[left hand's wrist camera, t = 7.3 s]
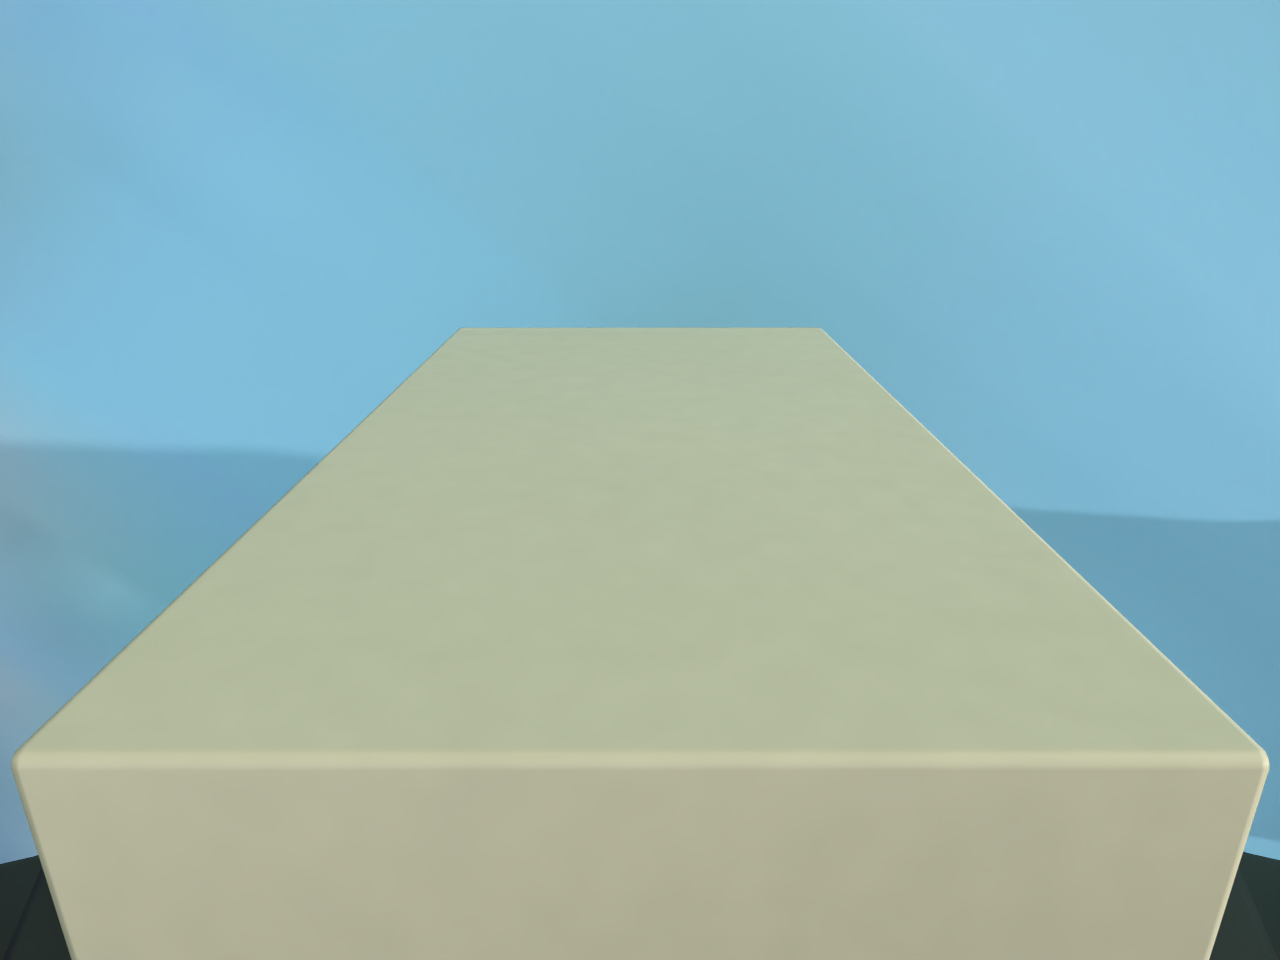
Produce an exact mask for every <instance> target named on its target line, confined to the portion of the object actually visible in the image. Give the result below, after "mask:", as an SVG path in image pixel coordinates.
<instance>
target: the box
mask: <svg viewBox="0 0 1280 960" xmlns="http://www.w3.org/2000/svg"><path fill="white" fill-rule="evenodd" d="M1269 768H1270V767H1269V759H1268V757H1267V755H1266V752H1265V751H1264V750H1263V749H1262V748H1261V747H1260V746H1259V745H1258V744H1257V743H1256V742H1255V741H1254V740H1253V739H1252V738H1251V737H1250V736H1249V735H1248V734H1247V733H1246V732H1244V731H1243V730H1242V729H1241V728H1240V727H1239V726H1238V725H1237V724H1236V723H1235V722H1234V721H1233V720H1232V719H1231V718H1230V717H1229V716H1228V715H1227V714H1226V713H1224V712H1223V711H1222V710H1221V709H1220V708H1219V707H1218V706H1217V705H1216V704H1215V703H1214V702H1213V701H1212V700H1211V699H1210V698H1209V697H1208V696H1207V695H1206V694H1205V693H1203V692H1202V691H1201V690H1200V689H1199V688H1198V687H1197V686H1196V685H1195V684H1194V683H1193V682H1192V681H1191V680H1190V679H1189V678H1188V677H1187V676H1186V675H1185V674H1184V673H1182V672H1181V671H1180V670H1179V669H1178V668H1177V667H1176V666H1175V665H1174V664H1173V663H1172V662H1171V661H1170V660H1169V659H1168V658H1167V657H1166V656H1165V655H1164V654H1162V653H1161V652H1160V651H1159V650H1158V649H1157V648H1156V647H1155V646H1154V645H1153V644H1152V643H1151V642H1150V641H1149V640H1148V639H1147V638H1146V637H1145V636H1144V635H1143V634H1141V633H1140V632H1139V631H1138V630H1137V629H1136V628H1135V627H1134V626H1133V625H1132V624H1131V623H1130V622H1129V621H1128V620H1127V619H1126V618H1125V617H1124V616H1123V615H1122V614H1120V613H1119V612H1118V611H1117V610H1116V609H1115V608H1114V607H1113V606H1112V605H1111V604H1110V603H1109V602H1108V601H1107V600H1106V599H1105V598H1104V597H1103V596H1102V595H1100V594H1099V593H1098V592H1097V591H1096V590H1095V589H1094V588H1093V587H1092V586H1091V585H1090V584H1089V583H1088V582H1087V581H1086V580H1085V579H1084V578H1083V577H1082V576H1081V575H1079V574H1078V573H1077V572H1076V571H1075V570H1074V569H1073V568H1072V567H1071V566H1070V565H1069V564H1068V563H1067V562H1066V561H1065V560H1064V559H1063V558H1062V557H1061V556H1060V555H1058V554H1057V553H1056V552H1055V551H1054V550H1053V549H1052V548H1051V547H1050V546H1049V545H1048V544H1047V543H1046V542H1045V541H1044V540H1043V539H1042V538H1041V537H1040V536H1038V535H1037V534H1036V533H1035V532H1034V531H1033V530H1032V529H1031V528H1030V527H1029V526H1028V525H1027V524H1026V523H1025V522H1024V521H1023V520H1022V519H1021V518H1020V517H1019V516H1017V515H1016V514H1015V513H1014V512H1013V511H1012V510H1011V509H1010V508H1009V507H1008V506H1007V505H1006V504H1005V503H1004V502H1003V501H1002V500H1001V499H1000V498H999V497H998V496H996V495H995V494H994V493H993V492H992V491H991V490H990V489H989V488H988V487H987V486H986V485H985V484H984V483H983V482H982V481H981V480H980V479H979V478H978V477H977V476H975V475H974V474H973V473H972V472H971V471H970V470H969V469H968V468H967V467H966V466H965V465H964V464H963V463H962V462H961V461H960V460H959V459H958V458H957V457H955V456H954V455H953V454H952V453H951V452H950V451H949V450H948V449H947V448H946V447H945V446H944V445H943V444H942V443H941V442H940V441H939V440H938V439H937V438H936V437H934V436H933V435H932V434H931V433H930V432H929V431H928V430H927V429H926V428H925V427H924V426H923V425H922V424H921V423H920V422H919V421H918V420H917V419H916V418H915V417H913V416H912V415H911V414H910V413H909V412H908V411H907V410H906V409H905V408H904V407H903V406H902V405H901V404H900V403H899V402H898V401H897V400H896V399H895V398H893V397H892V396H891V395H890V394H889V393H888V392H887V391H886V390H885V389H884V388H883V387H882V386H881V385H880V384H879V383H878V382H877V381H876V380H875V379H874V378H872V377H871V376H870V375H869V374H868V373H867V372H866V371H865V370H864V369H863V368H862V367H861V366H860V365H859V364H858V363H857V362H856V361H855V360H854V359H853V358H851V357H850V356H849V355H848V354H847V353H846V352H845V351H844V350H843V349H842V348H841V347H840V346H839V345H838V344H837V343H836V342H835V341H834V340H833V339H831V338H830V337H829V336H828V335H827V334H826V333H825V332H824V331H823V330H822V329H820V328H460V329H458V330H457V331H456V332H455V333H454V334H453V335H452V336H451V337H450V338H449V339H448V340H447V341H446V342H445V343H444V344H443V345H442V346H441V347H440V348H439V349H437V350H436V351H435V352H434V353H433V354H432V355H431V356H430V357H429V358H428V359H427V360H426V361H425V362H424V363H423V364H422V365H421V366H420V367H419V368H418V369H416V370H415V371H414V372H413V373H412V374H411V375H410V376H409V377H408V378H407V379H406V380H405V381H404V382H403V383H402V384H401V385H400V386H399V387H398V388H397V389H395V390H394V391H393V392H392V393H391V394H390V395H389V396H388V397H387V398H386V399H385V400H384V401H383V402H382V403H381V404H380V405H379V406H378V407H377V408H376V409H374V410H373V411H372V412H371V413H370V414H369V415H368V416H367V417H366V418H365V419H364V420H363V421H362V422H361V423H360V424H359V425H358V426H357V427H356V428H355V429H354V430H352V431H351V432H350V433H349V434H348V435H347V436H346V437H345V438H344V439H343V440H342V441H341V442H340V443H339V444H338V445H337V446H336V447H335V448H334V449H333V450H331V451H330V452H329V453H328V454H327V455H326V456H325V457H324V458H323V459H322V460H321V461H320V462H319V463H318V464H317V465H316V466H315V467H314V468H313V469H312V470H310V471H309V472H308V473H307V474H306V475H305V476H304V477H303V478H302V479H301V480H300V481H299V482H298V483H297V484H296V485H295V486H294V487H293V488H292V489H291V490H289V491H288V492H287V493H286V494H285V495H284V496H283V497H282V498H281V499H280V500H279V501H278V502H277V503H276V504H275V505H274V506H273V507H272V508H271V509H270V510H268V511H267V512H266V513H265V514H264V515H263V516H262V517H261V518H260V519H259V520H258V521H257V522H256V523H255V524H254V525H253V526H252V527H251V528H250V529H249V530H247V531H246V532H245V533H244V534H243V535H242V536H241V537H240V538H239V539H238V540H237V541H236V542H235V543H234V544H233V545H232V546H231V547H230V548H229V549H228V550H227V551H225V552H224V553H223V554H222V555H221V556H220V557H219V558H218V559H217V560H216V561H215V562H214V563H213V564H212V565H211V566H210V567H209V568H208V569H207V570H206V571H204V572H203V573H202V574H201V575H200V576H199V577H198V578H197V579H196V580H195V581H194V582H193V583H192V584H191V585H190V586H189V587H188V588H187V589H186V590H185V591H183V592H182V593H181V594H180V595H179V596H178V597H177V598H176V599H175V600H174V601H173V602H172V603H171V604H170V605H169V606H168V607H167V608H166V609H165V610H164V611H162V612H161V613H160V614H159V615H158V616H157V617H156V618H155V619H154V620H153V621H152V622H151V623H150V624H149V625H148V626H147V627H146V628H145V629H144V630H143V631H141V632H140V633H139V634H138V635H137V636H136V637H135V638H134V639H133V640H132V641H131V642H130V643H129V644H128V645H127V646H126V647H125V648H124V649H123V650H122V651H120V652H119V653H118V654H117V655H116V656H115V657H114V658H113V659H112V660H111V661H110V662H109V663H108V664H107V665H106V666H105V667H104V668H103V669H102V670H101V671H99V672H98V673H97V674H96V675H95V676H94V677H93V678H92V679H91V680H90V681H89V682H88V683H87V684H86V685H85V686H84V687H83V688H82V689H81V690H80V691H78V692H77V693H76V694H75V695H74V696H73V697H72V698H71V699H70V700H69V701H68V702H67V703H66V704H65V705H64V706H63V707H62V708H61V709H60V710H59V711H58V712H56V713H55V714H54V715H53V716H52V717H51V718H50V719H49V720H48V721H47V722H46V723H45V724H44V725H43V726H42V727H41V728H40V729H39V730H38V731H37V732H35V733H34V734H33V735H32V736H31V737H30V738H29V739H28V740H27V741H26V742H25V743H24V744H23V745H22V746H21V747H20V748H19V749H18V750H17V751H16V752H15V754H14V756H13V758H12V764H11V770H12V773H13V776H14V779H15V782H16V785H17V789H18V792H19V795H20V798H21V801H22V804H23V808H24V811H25V814H26V817H27V820H28V823H29V826H30V830H31V833H32V836H33V839H34V842H35V845H36V849H37V852H38V855H39V858H40V861H41V864H42V868H43V871H44V874H45V877H46V880H47V883H48V887H49V890H50V893H51V896H52V899H53V902H54V906H55V909H56V912H57V915H58V918H59V921H60V925H61V928H62V931H63V934H64V937H65V940H66V943H67V947H68V950H69V953H70V956H71V959H72V960H1209V958H1210V955H1211V952H1212V949H1213V946H1214V942H1215V939H1216V936H1217V933H1218V930H1219V927H1220V923H1221V920H1222V917H1223V914H1224V911H1225V908H1226V904H1227V901H1228V898H1229V895H1230V892H1231V889H1232V885H1233V882H1234V879H1235V876H1236V873H1237V870H1238V866H1239V863H1240V860H1241V857H1242V854H1243V850H1244V847H1245V844H1246V841H1247V838H1248V835H1249V831H1250V828H1251V825H1252V822H1253V819H1254V816H1255V812H1256V809H1257V806H1258V803H1259V800H1260V797H1261V793H1262V790H1263V787H1264V784H1265V781H1266V778H1267V774H1268V771H1269Z"/></svg>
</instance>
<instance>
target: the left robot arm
mask: <svg viewBox="0 0 1280 960" xmlns="http://www.w3.org/2000/svg"><path fill="white" fill-rule="evenodd" d="M0 960H72V959H71V956H70V953H69V950H68V947H67V943H66V940H65V937H64V934H63V931H62V928H61V925H60V921H59V918H58V915H57V912H56V909H55V906H54V902H53V899H52V896H51V893H50V890H49V887H48V883H47V880H46V877H45V874H44V871H43V868H42V864H41V861H40V858H39V855H37V856H34V857H30V858H26V859H21V860H17V861H12V862H8V863H3V864H0ZM1209 960H1280V860H1276V859H1271V858H1267V857H1262V856H1258V855H1253V854H1249V853H1246V852H1243V854H1242V857H1241V860H1240V863H1239V866H1238V870H1237V873H1236V876H1235V879H1234V882H1233V885H1232V889H1231V892H1230V895H1229V898H1228V901H1227V904H1226V908H1225V911H1224V914H1223V917H1222V920H1221V923H1220V927H1219V930H1218V933H1217V936H1216V939H1215V942H1214V946H1213V949H1212V952H1211V955H1210V958H1209Z"/></svg>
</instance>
